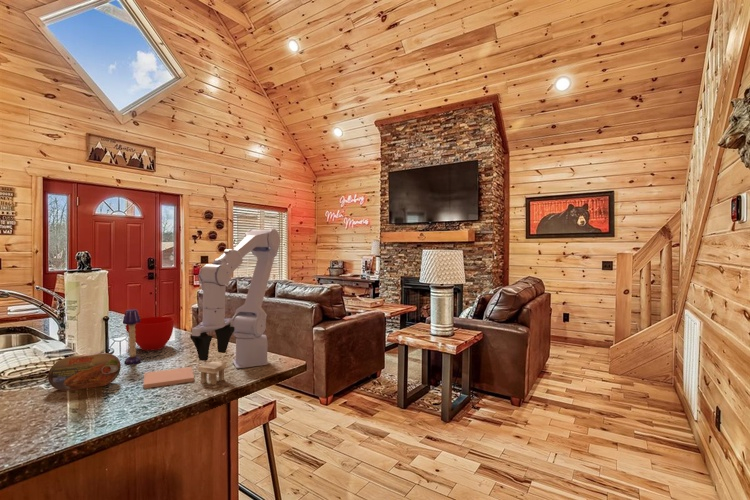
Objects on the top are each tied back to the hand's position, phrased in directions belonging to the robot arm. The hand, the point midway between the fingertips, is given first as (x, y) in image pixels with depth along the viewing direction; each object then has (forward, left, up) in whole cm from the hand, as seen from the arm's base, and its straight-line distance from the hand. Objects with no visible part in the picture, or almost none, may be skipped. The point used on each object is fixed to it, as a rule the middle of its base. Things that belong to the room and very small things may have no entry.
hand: (212, 356), depth 104 cm
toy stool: (0, 0, -7) cm, 7 cm away
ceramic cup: (+16, -44, -7) cm, 48 cm away
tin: (+29, -10, -7) cm, 32 cm away
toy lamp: (+20, -27, -7) cm, 35 cm away
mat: (+10, -7, -7) cm, 14 cm away
